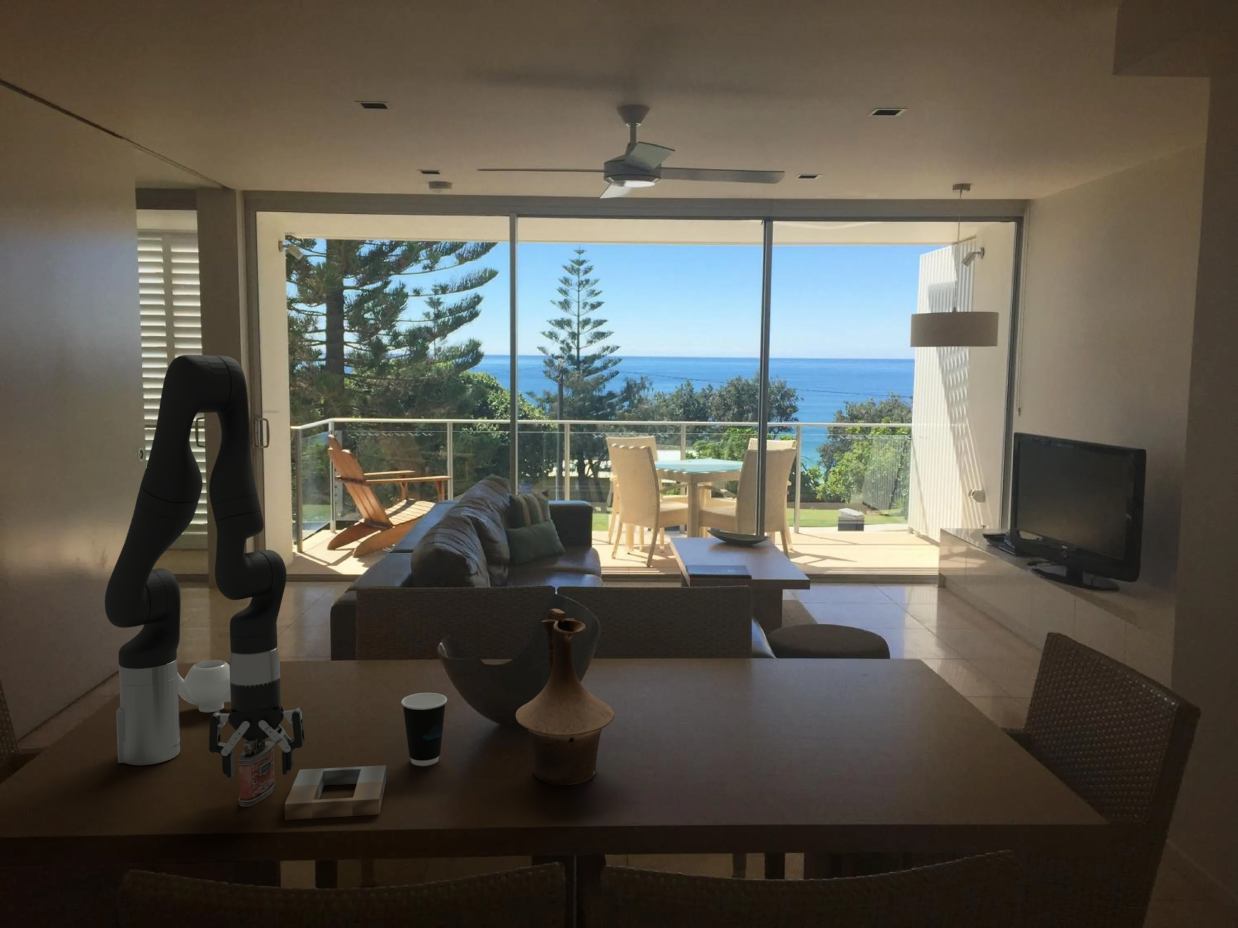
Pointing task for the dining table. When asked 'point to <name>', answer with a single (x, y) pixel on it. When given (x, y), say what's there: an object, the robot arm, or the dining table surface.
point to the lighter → (256, 771)
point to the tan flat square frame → (364, 801)
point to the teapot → (206, 685)
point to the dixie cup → (424, 726)
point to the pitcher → (564, 713)
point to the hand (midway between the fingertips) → (258, 774)
